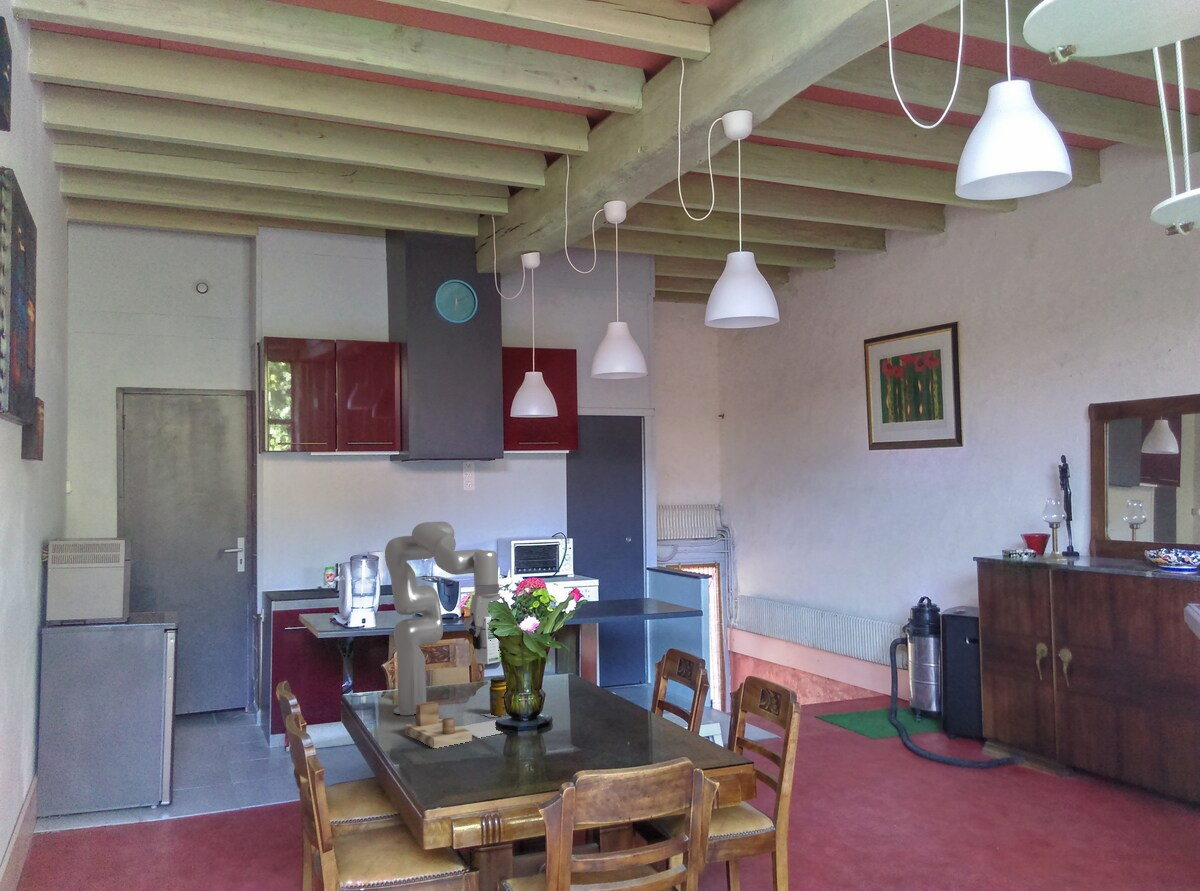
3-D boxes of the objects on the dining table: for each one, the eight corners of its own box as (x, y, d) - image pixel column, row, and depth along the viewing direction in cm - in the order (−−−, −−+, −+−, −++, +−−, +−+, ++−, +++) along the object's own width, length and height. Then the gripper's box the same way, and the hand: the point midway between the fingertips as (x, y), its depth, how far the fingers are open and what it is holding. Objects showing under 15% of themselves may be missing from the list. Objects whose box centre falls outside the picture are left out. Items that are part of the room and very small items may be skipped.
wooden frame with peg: (405, 734, 290) (404, 705, 290) (441, 728, 296) (440, 699, 297) (434, 748, 271) (433, 717, 272) (471, 741, 278) (471, 711, 279)
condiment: (513, 715, 312) (512, 678, 313) (490, 719, 307) (489, 682, 308) (503, 711, 318) (502, 675, 319) (480, 715, 313) (479, 678, 314)
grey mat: (455, 729, 295) (455, 727, 295) (501, 721, 304) (501, 719, 304) (478, 738, 281) (478, 736, 281) (525, 730, 290) (524, 728, 290)
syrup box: (487, 664, 289) (486, 617, 290) (475, 663, 293) (473, 616, 294) (501, 661, 294) (500, 615, 295) (488, 660, 298) (487, 614, 299)
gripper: (505, 587, 303) (506, 643, 302) (455, 591, 293) (457, 649, 292) (516, 588, 297) (518, 645, 296) (466, 593, 287) (467, 652, 286)
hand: (487, 647), depth 294 cm, fingers closed on syrup box, 6 cm apart
